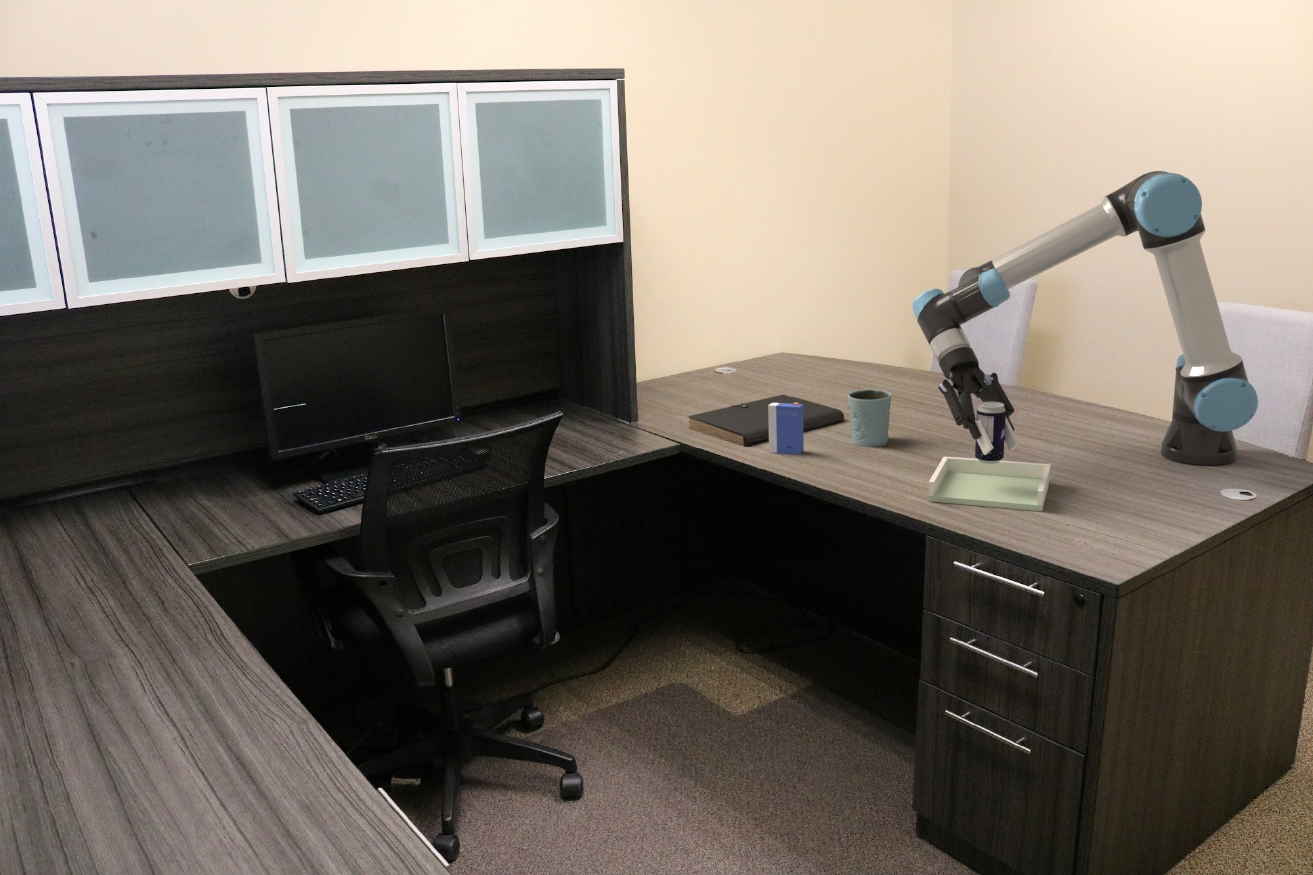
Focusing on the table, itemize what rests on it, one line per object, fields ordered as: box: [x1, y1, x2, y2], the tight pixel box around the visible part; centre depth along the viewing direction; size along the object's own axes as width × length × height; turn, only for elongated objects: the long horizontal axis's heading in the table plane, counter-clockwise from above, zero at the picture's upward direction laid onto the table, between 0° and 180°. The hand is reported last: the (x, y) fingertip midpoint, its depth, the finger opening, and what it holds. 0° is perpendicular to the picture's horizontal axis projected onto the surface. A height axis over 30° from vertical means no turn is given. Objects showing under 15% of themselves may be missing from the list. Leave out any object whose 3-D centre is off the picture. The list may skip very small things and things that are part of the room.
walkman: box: [768, 403, 805, 455], centre depth 258 cm, size 8×3×12 cm, turn 66°
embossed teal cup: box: [847, 388, 892, 448], centre depth 263 cm, size 10×10×12 cm
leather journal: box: [687, 394, 845, 447], centre depth 284 cm, size 33×4×24 cm
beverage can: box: [974, 401, 1006, 464], centre depth 222 cm, size 6×6×12 cm
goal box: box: [927, 456, 1052, 512], centre depth 225 cm, size 22×18×4 cm
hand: (1001, 448), depth 220 cm, fingers closed on beverage can, 6 cm apart
